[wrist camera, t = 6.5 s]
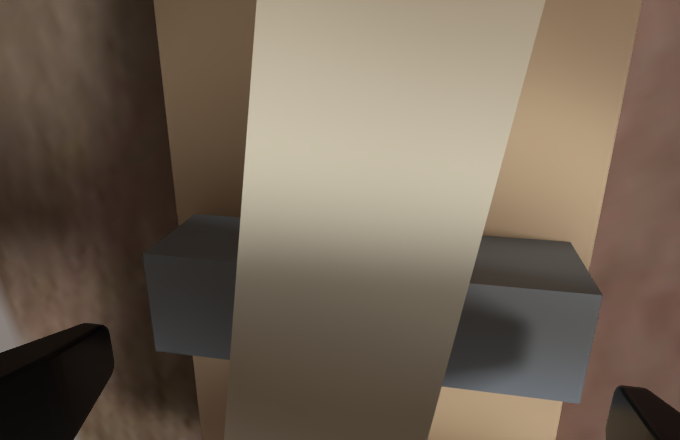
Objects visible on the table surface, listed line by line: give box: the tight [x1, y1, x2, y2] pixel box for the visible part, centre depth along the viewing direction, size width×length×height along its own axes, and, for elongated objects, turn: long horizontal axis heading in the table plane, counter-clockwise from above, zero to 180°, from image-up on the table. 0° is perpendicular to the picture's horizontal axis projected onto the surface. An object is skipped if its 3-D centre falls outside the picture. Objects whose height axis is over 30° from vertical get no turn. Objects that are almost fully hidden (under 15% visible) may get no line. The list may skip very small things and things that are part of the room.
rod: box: [224, 0, 546, 440], centre depth 9 cm, size 14×3×3 cm, turn 172°
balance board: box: [142, 0, 642, 440], centre depth 12 cm, size 13×10×4 cm
